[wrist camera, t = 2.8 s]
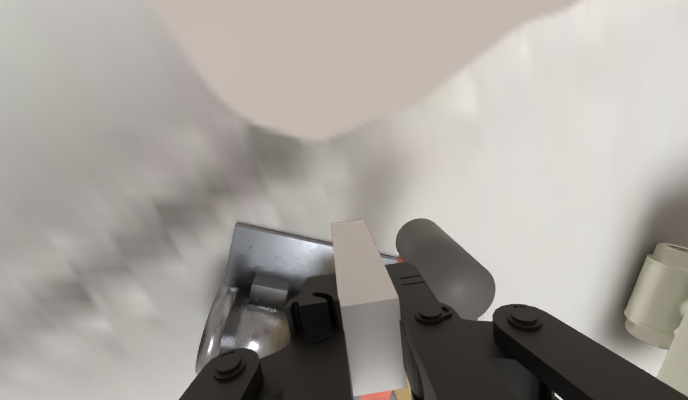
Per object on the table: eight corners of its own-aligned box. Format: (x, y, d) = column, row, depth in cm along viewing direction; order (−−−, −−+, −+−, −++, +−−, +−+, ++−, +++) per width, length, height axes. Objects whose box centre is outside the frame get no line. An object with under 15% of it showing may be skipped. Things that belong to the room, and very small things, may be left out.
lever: (386, 435, 23) (410, 543, 17) (324, 426, 22) (327, 536, 16) (460, 227, 19) (522, 274, 14) (390, 210, 19) (423, 251, 13)
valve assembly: (210, 358, 31) (166, 459, 22) (237, 222, 28) (199, 274, 19) (441, 395, 35) (487, 496, 25) (488, 277, 32) (559, 343, 22)
